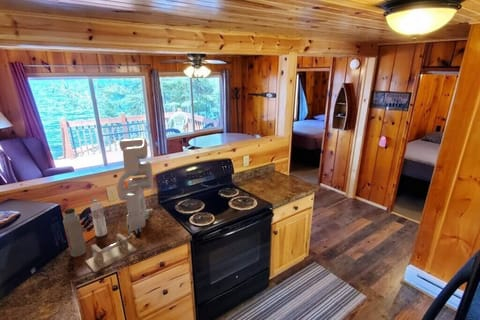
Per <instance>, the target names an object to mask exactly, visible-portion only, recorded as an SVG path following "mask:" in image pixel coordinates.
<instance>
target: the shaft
mask: <svg viewBox="0 0 480 320" xmlns="http://www.w3.org/2000/svg"><path fill="white" fill-rule="evenodd" d="M126 238H127V242H128V243H129V242H130V241H132V242H133V241H136V239H137V238H136V237H135V233H129V236H126ZM121 244H122V241H118V242H117V241H116V242H115V243H112V244H110V245H108V246H106V247H103V248H100V249H101V250H102V253H105V252H107V251H109V250H111V249H113V248H115V247H117V246H119V245H121ZM91 255H92V257H94V258H95V257H97V253H96V252H95V253H93V252H92V254H91Z"/></svg>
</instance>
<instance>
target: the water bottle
mask: <svg viewBox="0 0 480 320" xmlns="http://www.w3.org/2000/svg"><path fill="white" fill-rule="evenodd" d="M90 212H91V217H92V223H93V229H94V233H95V236H96V237H99V238H101V237H104V236H106V235H107V234H108V230H107V223H106V222H107V221H106V217H105V214H104V209H103V204H102V203H101V202H99V201H98V199H93V203H92V204H91V205H90Z"/></svg>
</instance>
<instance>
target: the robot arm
mask: <svg viewBox="0 0 480 320" xmlns="http://www.w3.org/2000/svg"><path fill="white" fill-rule="evenodd" d="M119 147H120V150H121V151H122V159H123V169H124V171H123V173H122V174H121V176H120V177H119V179H118V182H117V195H118V199H119V200H120V201H123V202H124V201H126V207H127V208H126V209H127V213H128V214H126V229H127V230H128V233H129V234H131V233H134V235H135V237H136V239H138V240H139V239H141V238H142V230H143V229H144V228H145V227H146V220H148V219H149V218H150V213H152V212H153V211H154V210H153V208H150V209H149V208H147V205H146V196H145V193H144V191H146V190H151V189H153V188H154V183H155V182H154V175H153V169H152V164H151V163H150V162H149V161H141V160H144V159H147V158H148V151H149V149H148V141H147V140H146V138H141V137H139V138H127V139H126V138H125V139H121V140H120V141H119ZM130 177H131V178H130ZM128 178H129V179H128ZM127 179H128V180H127ZM126 180H127V187H124V183H125V181H126Z"/></svg>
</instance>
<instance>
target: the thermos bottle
mask: <svg viewBox="0 0 480 320" xmlns="http://www.w3.org/2000/svg"><path fill="white" fill-rule="evenodd" d="M62 223H63V227H64V228H63V229H64V232H65V236H66V239H67V243H68V244H67V245H68V249H69V252H70V256H71V257H75V258H76V257H80V256H83V255H84V254H85V253H86V252H87V247H86V242H85V239H84V233H83V228H82V224H81V218H80V216H79V215H78V213H76V211H75V208H68V209H66V210H64V216H63V220H62Z"/></svg>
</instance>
